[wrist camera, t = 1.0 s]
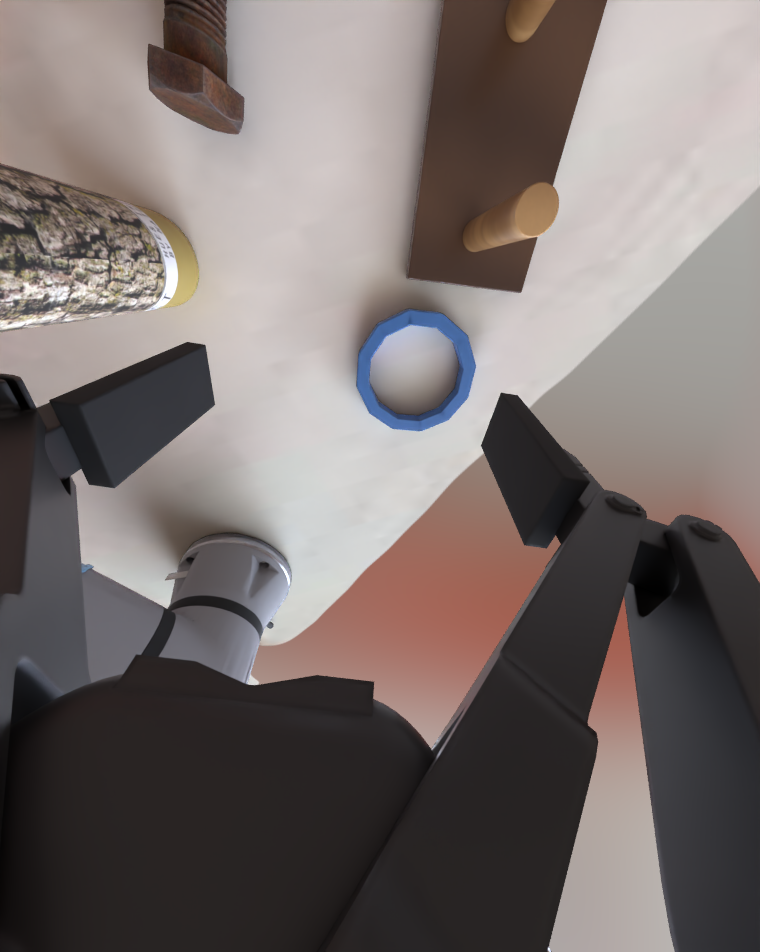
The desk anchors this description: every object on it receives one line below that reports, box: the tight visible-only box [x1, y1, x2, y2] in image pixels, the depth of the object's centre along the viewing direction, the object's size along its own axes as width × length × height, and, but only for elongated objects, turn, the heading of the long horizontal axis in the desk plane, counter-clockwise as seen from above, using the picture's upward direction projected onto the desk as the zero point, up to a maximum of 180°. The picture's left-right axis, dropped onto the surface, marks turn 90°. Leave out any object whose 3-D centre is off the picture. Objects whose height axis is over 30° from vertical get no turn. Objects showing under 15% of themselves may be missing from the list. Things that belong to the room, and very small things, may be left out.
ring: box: [356, 309, 476, 431], centre depth 32 cm, size 11×11×2 cm
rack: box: [406, 0, 607, 293], centre depth 19 cm, size 18×10×12 cm, turn 174°
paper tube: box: [0, 163, 199, 332], centre depth 17 cm, size 7×7×25 cm
